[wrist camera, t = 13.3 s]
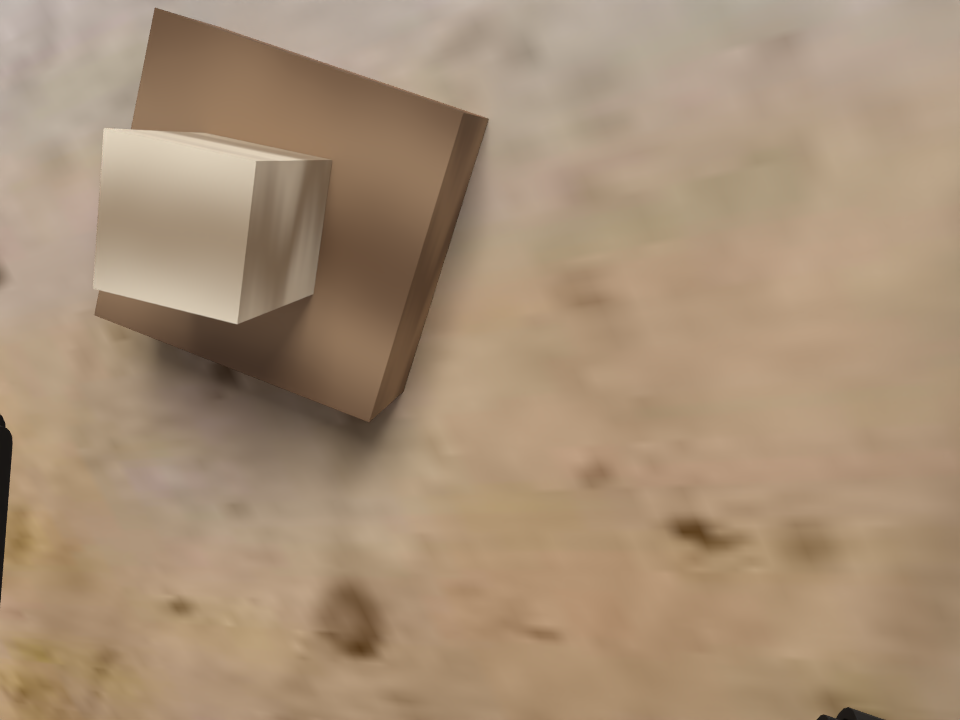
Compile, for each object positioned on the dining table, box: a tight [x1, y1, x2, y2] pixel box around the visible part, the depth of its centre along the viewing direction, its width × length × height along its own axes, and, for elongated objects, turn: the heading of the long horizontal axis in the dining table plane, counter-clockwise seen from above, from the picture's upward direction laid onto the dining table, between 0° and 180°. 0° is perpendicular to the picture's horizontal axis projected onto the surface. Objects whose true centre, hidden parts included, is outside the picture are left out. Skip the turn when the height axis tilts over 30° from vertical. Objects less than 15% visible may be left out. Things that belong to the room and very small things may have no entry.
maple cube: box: [93, 128, 332, 324], centre depth 29 cm, size 5×5×6 cm
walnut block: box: [95, 8, 489, 422], centre depth 34 cm, size 12×12×5 cm
